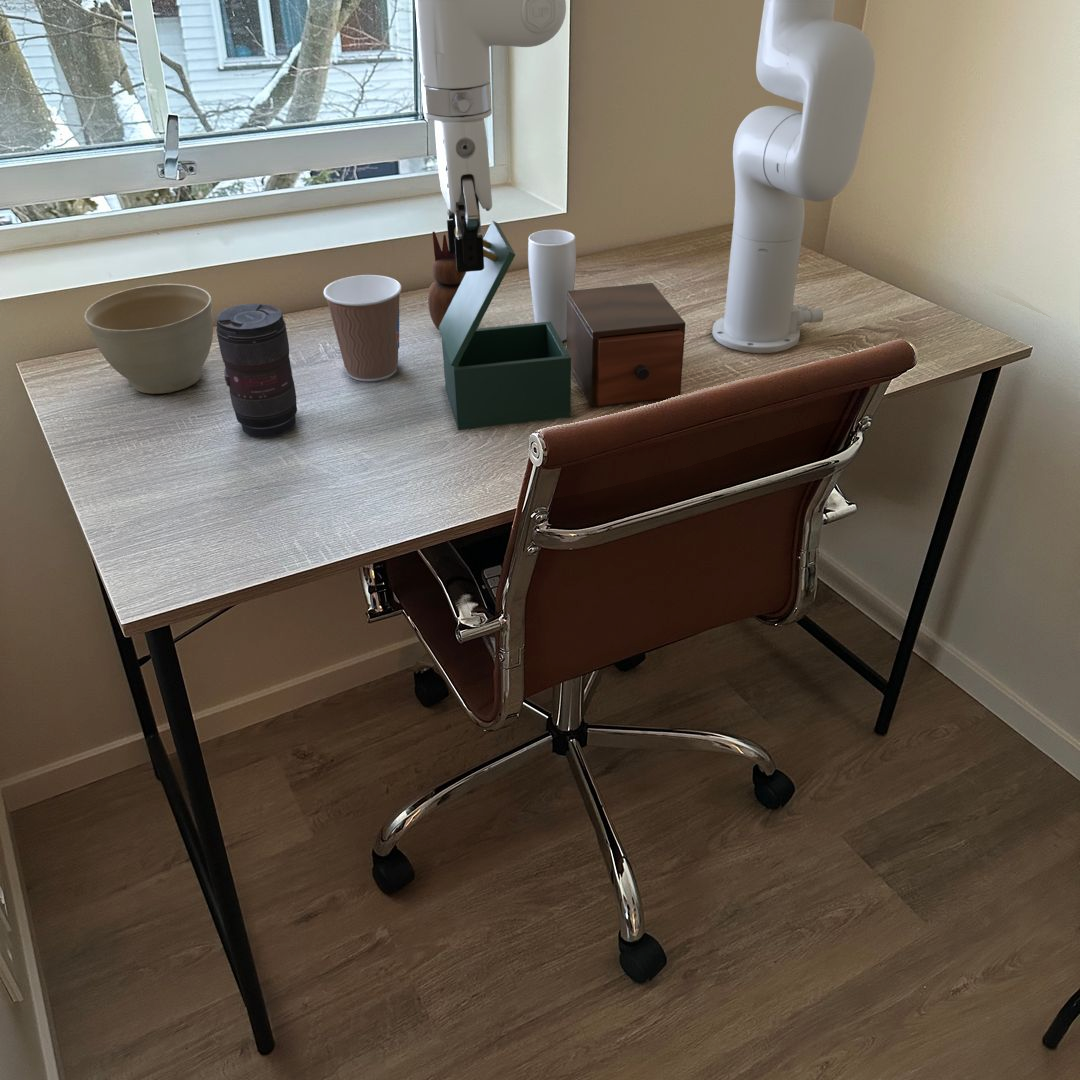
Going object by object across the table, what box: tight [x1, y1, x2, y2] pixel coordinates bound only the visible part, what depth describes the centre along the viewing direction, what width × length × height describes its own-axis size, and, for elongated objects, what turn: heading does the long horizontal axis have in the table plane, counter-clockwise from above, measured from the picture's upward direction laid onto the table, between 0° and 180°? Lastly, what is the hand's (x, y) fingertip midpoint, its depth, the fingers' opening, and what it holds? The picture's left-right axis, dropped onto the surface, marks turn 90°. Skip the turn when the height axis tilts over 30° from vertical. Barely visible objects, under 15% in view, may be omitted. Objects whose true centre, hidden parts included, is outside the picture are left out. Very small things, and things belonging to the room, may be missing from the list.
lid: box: [438, 220, 516, 367], centre depth 124 cm, size 15×12×5 cm
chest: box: [441, 322, 572, 431], centre depth 132 cm, size 15×12×8 cm
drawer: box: [596, 330, 684, 406], centre depth 134 cm, size 14×11×9 cm
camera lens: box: [215, 303, 298, 439], centre depth 126 cm, size 8×8×15 cm
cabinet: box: [566, 282, 686, 409], centre depth 136 cm, size 14×12×11 cm
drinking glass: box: [527, 229, 577, 342], centre depth 147 cm, size 7×7×15 cm
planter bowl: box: [84, 283, 214, 395], centre depth 138 cm, size 16×16×11 cm
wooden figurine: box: [427, 231, 466, 331], centre depth 149 cm, size 7×6×15 cm
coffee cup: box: [323, 274, 402, 382], centre depth 139 cm, size 10×10×12 cm
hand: (466, 259), depth 122 cm, fingers closed on lid, 5 cm apart
